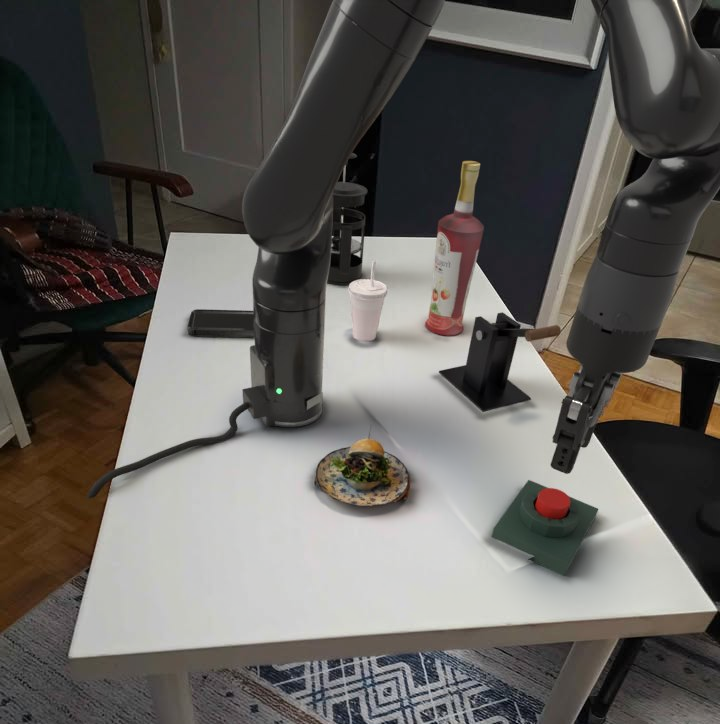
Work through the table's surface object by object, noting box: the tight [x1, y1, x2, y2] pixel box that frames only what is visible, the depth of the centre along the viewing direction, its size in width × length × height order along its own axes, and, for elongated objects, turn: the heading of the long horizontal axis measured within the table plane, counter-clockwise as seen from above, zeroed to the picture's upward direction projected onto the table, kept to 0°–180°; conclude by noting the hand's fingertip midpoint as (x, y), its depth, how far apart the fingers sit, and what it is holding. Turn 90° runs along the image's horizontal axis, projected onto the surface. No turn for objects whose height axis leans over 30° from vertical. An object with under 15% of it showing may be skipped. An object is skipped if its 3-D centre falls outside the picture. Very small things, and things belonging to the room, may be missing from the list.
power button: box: [535, 487, 570, 520], centre depth 74 cm, size 4×4×2 cm
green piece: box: [491, 479, 599, 577], centre depth 76 cm, size 11×9×4 cm
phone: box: [187, 308, 254, 338], centre depth 111 cm, size 8×1×15 cm
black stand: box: [438, 312, 532, 413], centre depth 97 cm, size 12×9×12 cm
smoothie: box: [347, 259, 388, 342], centre depth 106 cm, size 6×6×14 cm
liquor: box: [424, 160, 485, 337], centre depth 107 cm, size 7×7×28 cm
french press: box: [327, 152, 368, 286], centre depth 124 cm, size 12×9×23 cm
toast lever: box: [491, 322, 562, 343], centre depth 90 cm, size 12×5×2 cm, turn 27°
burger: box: [313, 425, 412, 507], centre depth 79 cm, size 12×12×8 cm
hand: (569, 455), depth 70 cm, fingers open, 5 cm apart
